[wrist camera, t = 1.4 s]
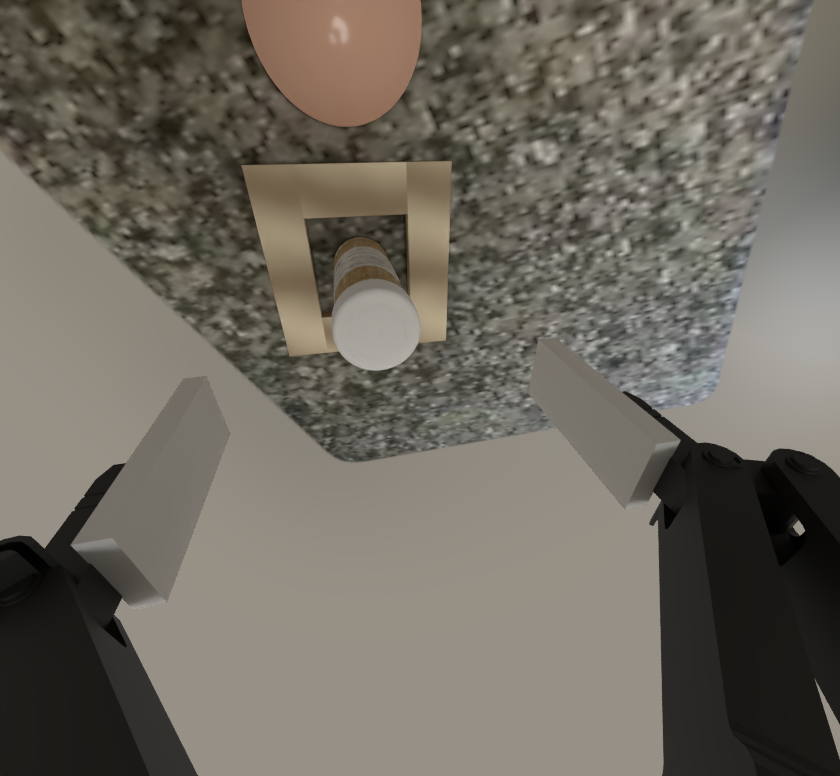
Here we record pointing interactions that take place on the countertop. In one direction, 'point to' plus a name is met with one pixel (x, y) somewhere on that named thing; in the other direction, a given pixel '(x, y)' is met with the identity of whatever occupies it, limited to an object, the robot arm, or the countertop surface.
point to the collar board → (347, 197)
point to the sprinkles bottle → (371, 308)
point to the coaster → (337, 53)
